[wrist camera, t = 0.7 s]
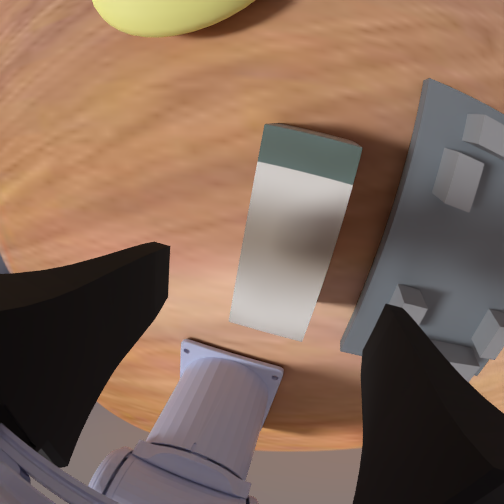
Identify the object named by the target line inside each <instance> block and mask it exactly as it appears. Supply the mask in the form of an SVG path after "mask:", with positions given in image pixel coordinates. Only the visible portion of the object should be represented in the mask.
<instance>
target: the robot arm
mask: <svg viewBox="0 0 504 504" xmlns="http://www.w3.org/2000/svg"><path fill="white" fill-rule="evenodd" d="M169 259H170V246H167V245H164V244H160V243H157V242H150V243H145V244H141V245H138V246H134V247H131V248H128V249H124V250H121V251H118V252H114V253H111V254H108V255H105V256H101V257H98V258H94V259H90V260H87V261H83V262H79V263H76V264H72V265H67V266H63V267H58V268H52V269H47V270H41V271H32V272H23V273H13V274H0V504H55V503H54V502H53V501H51V500H50V499H49V498H47V497H46V496H45V495H43V494H42V493H41V492H39V491H38V490H37V489H35V488H34V487H33V486H32V485H31V484H30V477H29V475H30V476H31V477H32V478H33V479H35V480H36V481H37V482H39V483H40V484H42V485H43V486H44V487H45V488H47V489H49V490H50V491H51V492H52V493H54V494H55V495H57V496H58V497H60V498H62V499H63V500H64V501H66V502H67V503H69V504H258V501H257V499H256V498H255V497H252V496H249V495H248V494H249V490H250V487H251V483H250V482H246V481H245V480H246V477H247V474H248V470H249V467H250V464H251V460H252V457H253V453H254V450H255V446H256V443H257V439H258V436H259V432H260V431H261V429H262V426H263V424H264V422H265V419H266V417H267V414H268V412H269V409H270V407H271V404H272V402H273V400H274V397H275V394H276V392H277V389H278V387H279V384H280V382H281V379H282V377H283V373H284V370H283V368H281V367H279V366H276V365H272V364H269V363H265V362H261V361H258V360H254V359H251V358H247V357H244V356H240V355H237V354H233V353H230V352H227V351H224V350H220V349H217V348H214V347H211V346H208V345H205V344H202V343H199V342H196V341H193V340H190V339H184V340H183V341H182V343H181V363H180V380H179V382H178V384H177V386H176V387H175V389H174V391H173V393H172V395H171V396H170V398H169V400H168V402H167V403H166V405H165V407H164V409H163V411H162V412H161V414H160V416H159V418H158V420H157V421H156V423H155V425H154V427H153V428H152V430H151V432H150V434H149V436H148V438H147V439H146V441H143V440H139V442H138V443H137V445H136V447H135V449H134V450H133V449H131V448H129V447H122V448H120V449H116V450H113V451H112V452H110V453H109V454H108V455H107V456H106V457H105V459H104V460H103V461H102V463H101V464H100V465H99V467H98V468H97V470H96V472H95V473H94V475H93V477H92V479H91V481H90V483H89V485H88V486H87V485H85V484H84V483H82V482H80V481H79V480H77V479H75V478H74V477H72V476H71V475H69V474H67V473H66V472H64V471H63V470H61V469H60V468H61V467H66V466H68V464H69V461H70V458H71V456H72V453H73V451H74V448H75V446H76V443H77V441H78V438H79V436H80V433H81V431H82V429H83V427H84V425H85V423H86V420H87V419H88V416H89V414H90V412H91V410H92V409H93V407H94V405H95V403H96V401H97V399H98V397H99V396H100V394H101V392H102V390H103V388H104V387H105V385H106V383H107V382H108V380H109V378H110V377H111V375H112V373H113V372H114V370H115V369H116V368H117V366H118V365H119V363H120V362H121V361H122V359H123V358H124V357H125V356H126V354H127V353H128V352H129V351H130V349H131V348H132V347H133V346H134V344H135V343H136V342H137V341H138V340H139V338H140V337H141V336H142V335H143V333H144V332H145V331H146V330H147V328H148V327H149V326H150V325H151V323H152V322H153V321H154V319H155V318H156V316H157V315H158V313H159V311H160V310H161V308H162V306H163V305H164V303H165V301H166V299H167V298H168V282H169ZM187 349H188V350H187ZM275 376H277V377H275ZM361 392H362V414H363V446H362V454H361V462H360V470H359V475H358V481H357V486H356V491H355V496H354V500H353V504H504V413H502V412H501V411H500V410H498V409H497V408H496V407H495V406H494V405H492V404H491V403H490V402H489V401H488V400H486V399H485V398H484V397H483V396H482V395H481V394H480V393H479V392H478V391H477V390H476V389H474V388H473V387H472V386H471V385H470V384H469V383H468V382H467V381H466V380H465V379H464V378H463V377H462V376H461V375H460V373H459V372H458V371H457V370H456V369H455V368H454V367H453V366H452V365H451V363H450V362H449V361H448V360H447V359H446V358H445V357H444V356H443V354H442V353H441V352H440V351H439V350H438V348H437V347H436V346H435V345H434V344H433V342H432V341H431V340H430V339H429V337H428V336H427V335H426V334H425V333H424V331H423V330H422V329H421V328H420V327H419V325H418V324H417V323H416V322H415V321H414V319H413V318H412V317H411V316H410V315H409V314H408V313H407V312H406V311H405V310H404V309H403V308H402V307H398V306H394V305H390V304H385V306H384V308H383V310H382V312H381V314H380V317H379V319H378V321H377V323H376V325H375V327H374V329H373V331H372V333H371V335H370V337H369V339H368V341H367V343H366V345H365V347H364V348H363V351H362V364H361Z"/></svg>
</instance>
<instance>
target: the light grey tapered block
mask: <svg viewBox="0 0 504 504" xmlns="http://www.w3.org/2000/svg"><path fill="white" fill-rule="evenodd" d="M361 152H362V147H361V146H359V145H358V144H357V143H355V142H354V141H351V140H347V139H343V138H340V137H336V136H332V135H328V134H325V133H321V132H316V131H312V130H308V129H304V128H300V127H295V126H290V125H286V124H281V123H272V124H265V125H264V131H263V136H262V141H261V146H260V152H259V157H258V162H257V168H256V173H255V178H254V184H253V189H252V195H251V200H250V205H249V211H248V216H247V222H246V227H245V233H244V238H243V244H242V249H241V255H240V260H239V266H238V272H237V277H236V283H235V288H234V294H233V300H232V306H231V311H230V317H229V322H232V323H235V324H239V325H242V326H246V327H249V328H253V329H256V330H260V331H263V332H267V333H271V334H274V335H278V336H282V337H285V338H289V339H293V340H297V341H301V342H302V340H303V338H304V335H305V332H306V330H307V327H308V324H309V322H310V319H311V316H312V313H313V311H314V308H315V305H316V302H317V299H318V296H319V293H320V291H321V288H322V285H323V282H324V279H325V276H326V273H327V270H328V267H329V264H330V260H331V257H332V254H333V251H334V248H335V245H336V242H337V238H338V235H339V232H340V228H341V225H342V222H343V218H344V215H345V211H346V208H347V205H348V201H349V197H350V194H351V190H352V187H353V183H354V179H355V175H356V172H357V168H358V164H359V160H360V156H361Z"/></svg>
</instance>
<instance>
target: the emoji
mask: <svg viewBox="0 0 504 504" xmlns="http://www.w3.org/2000/svg"><path fill="white" fill-rule="evenodd" d="M254 1H255V0H92V2H93V4H94V7H95V8H96V10H97V11H98V13H99V14H100V15H101V17H102V18H103V19H104V20H105V21H106V22H107V23H108V24H109V25H111V26H112V27H114V28H116V29H118V30H119V31H122V32H125V33H127V34H130V35H135V36H141V37H168V36H177V35H181V34H186V33H190V32H194V31H197V30H200V29H203V28H206V27H209V26H212V25H214V24H216V23H218V22H220V21H222V20H224V19H227V18H229V17H230V16H232V15H234V14H235V13H237V12H239V11H241V10H242V9H244V8H246V7H247V6H248V5H250V4H251V3H252V2H254Z"/></svg>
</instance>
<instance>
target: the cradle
mask: <svg viewBox="0 0 504 504" xmlns="http://www.w3.org/2000/svg"><path fill="white" fill-rule="evenodd" d="M385 304H390V305H394V306H398V307H402V308H403V309H404V310H405V311H406V312H407V313H408V314H409V315H410V316H411V317H412V318H413V319H414V321H415V322H416V323H417V324H418V325H419V327H420V328H421V329H422V330H423V331H424V333H425V334H426V335H427V336H428V337H429V339H430V340H431V341H432V342H433V344H434V345H435V346H436V347H437V348H438V350H439V351H440V352H441V353H442V354H443V356H444V357H445V358H446V359H447V360H448V361H449V362H450V363H451V365H452V366H453V367H454V368H455V369H456V370H457V371H458V372H459V373H460V375H461V376H462V377H463V378H464V379H465V380H466V381H467V382H469V381H470V380H471V378H472V377H473V376H474V375H475V376H477V375H478V374H479V373H480V371H481V370H482V369H483V367H484V366H485V364H486V363H487V362H488V360H489V359H492V360H495V359H496V357H497V356H498V354H499V353H500V351H501V350H502V349H503V347H504V114H502V113H500V112H499V111H497V110H495V109H493V108H491V107H490V106H488V105H486V104H484V103H482V102H480V101H478V100H476V99H474V98H472V97H470V96H468V95H466V94H464V93H462V92H460V91H458V90H456V89H453V88H451V87H449V86H447V85H444V84H442V83H440V82H437V81H435V80H433V79H430V78H429V79H426V80H424V81H423V87H422V92H421V97H420V103H419V107H418V112H417V117H416V121H415V126H414V130H413V134H412V139H411V143H410V147H409V151H408V155H407V158H406V162H405V166H404V170H403V173H402V177H401V180H400V184H399V187H398V190H397V194H396V197H395V200H394V204H393V207H392V210H391V213H390V216H389V219H388V222H387V225H386V228H385V231H384V234H383V237H382V240H381V243H380V246H379V248H378V251H377V254H376V257H375V259H374V262H373V265H372V267H371V270H370V272H369V275H368V278H367V280H366V283H365V285H364V288H363V290H362V293H361V295H360V298H359V300H358V302H357V305H356V307H355V310H354V312H353V314H352V316H351V319H350V321H349V323H348V326H347V328H346V330H345V332H344V334H343V337H342V339H341V341H340V351H342V352H346V353H351V354H355V355H360V356H362V351H363V348H364V347H365V345H366V343H367V341H368V339H369V337H370V335H371V333H372V331H373V329H374V327H375V325H376V323H377V321H378V319H379V317H380V314H381V312H382V310H383V308H384V306H385Z"/></svg>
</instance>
